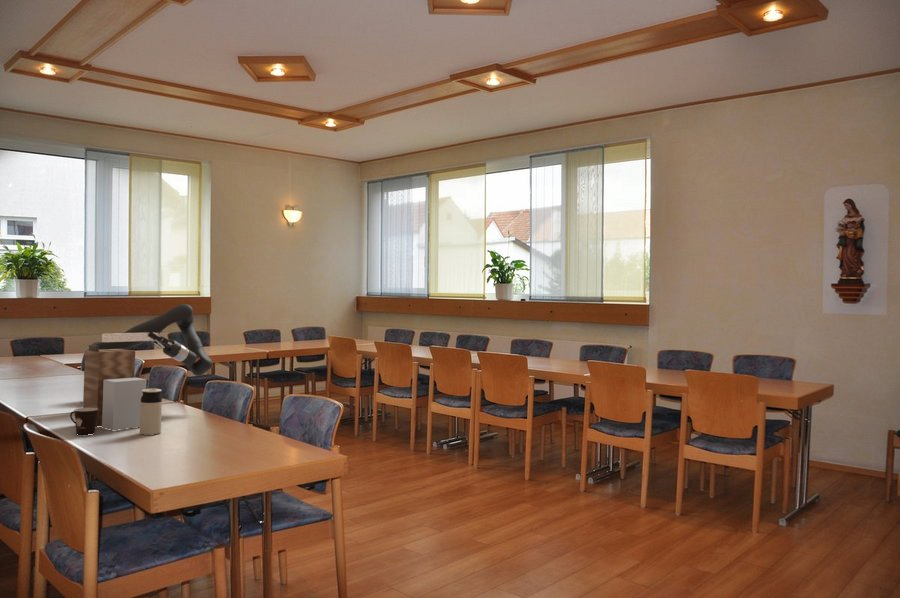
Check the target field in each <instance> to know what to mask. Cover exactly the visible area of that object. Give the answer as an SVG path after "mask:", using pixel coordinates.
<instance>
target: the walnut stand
mask: <svg viewBox="0 0 900 598" xmlns="http://www.w3.org/2000/svg"><path fill="white" fill-rule="evenodd" d="M88 349H89V350H88ZM88 349H85V350H84V368H83V369H84V371H83V395H82V396H83V397H82V399H83V400H82V401H83V402H82V408H98V415H97V421H96V427H97V426H102V410H103V382H104V380H108V379H121V378H135V371H136V350H134V349H133V350H131V349H103V350H99V346H98V345H92V344H88Z"/></svg>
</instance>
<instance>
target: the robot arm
mask: <svg viewBox="0 0 900 598" xmlns="http://www.w3.org/2000/svg"><path fill="white" fill-rule="evenodd" d="M193 309H194V308H193V307H192V306H191V305H190V304H187V303H183V304H179V305H176V306H175V307H173V308H171V309H169V310H167V311H165V312H164V313H162V314H159V315H158V316H155V317H153V318H151V319H149V320H145V321H144V322H141V323H138V324H136V325H134V326H132V327H131V328H129V329H128V330H126V331H124V332H123V333H149V334H148V336H149V337H151V338H152V339H154V340H155V341H149V342H150V343H151V344H153V345H154V346H158V347H159V348H161V349H162V352H163V354H165V355H166V356H168V357H170V358H171V359H174V361H177V362H179V363H181V364H182V365H185V366H186V367H187V368H188V370H189V371H190V372H191V373H192V374H193V375H195V376H197V377H201V376H203V375H204V374H205V373H207V372H208V371H210V370H211V369H212V368H213V366H214V363H213V362H214V361H213V360H212V358H210V356H209V354H208V353H206V351H205V349H204V346H203V343H202V341H201V339H200V337H199V336H198V334H197V331H196V329H195V324H194V310H193ZM173 324H176V325H177V327H178V328H179V330H180V332H181V333H182V337H183V338H184V341H185V342H184V343H185V344H186V346H185V345H183V344H181V343H179V342H178V341H176V340H175V339H168V338H166V337H164V336H160V335H159V334H160V333H162V332H163V331H164V330H165V329H166V328H167V327H169V326H171V325H173ZM152 332H154V333H158V336H157V335H156V334H154V333H152ZM147 342H148V341H129V342H102V341H95V342H93V343H92V344H91V345H98V346H99V350H103V349H126V350H130V349H132V348H134V347H137V346H139V345H143V344H144V343H147ZM87 350H89V348H88V349H87Z"/></svg>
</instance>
